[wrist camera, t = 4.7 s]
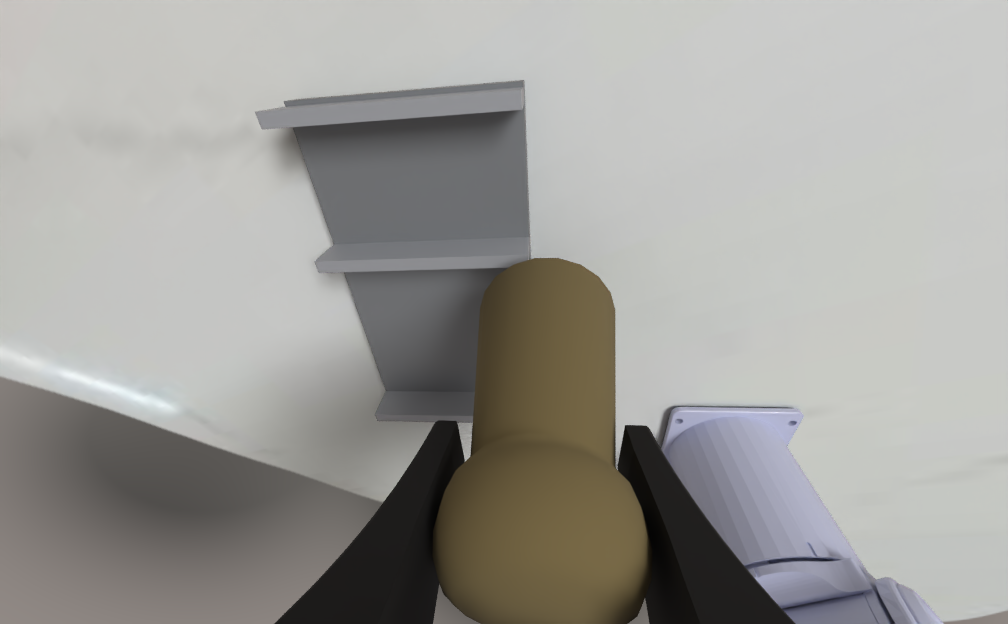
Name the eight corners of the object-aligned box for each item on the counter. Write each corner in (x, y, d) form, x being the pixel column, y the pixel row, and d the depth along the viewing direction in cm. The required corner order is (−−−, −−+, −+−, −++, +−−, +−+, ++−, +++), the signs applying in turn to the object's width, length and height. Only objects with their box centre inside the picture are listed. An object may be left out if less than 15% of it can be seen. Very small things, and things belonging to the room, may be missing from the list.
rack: (535, 392, 25) (534, 428, 23) (394, 390, 26) (379, 425, 24) (524, 80, 15) (520, 83, 13) (296, 99, 16) (252, 105, 14)
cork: (519, 380, 19) (489, 669, 10) (454, 292, 16) (334, 579, 7) (634, 342, 17) (725, 669, 8) (581, 232, 14) (628, 542, 5)
